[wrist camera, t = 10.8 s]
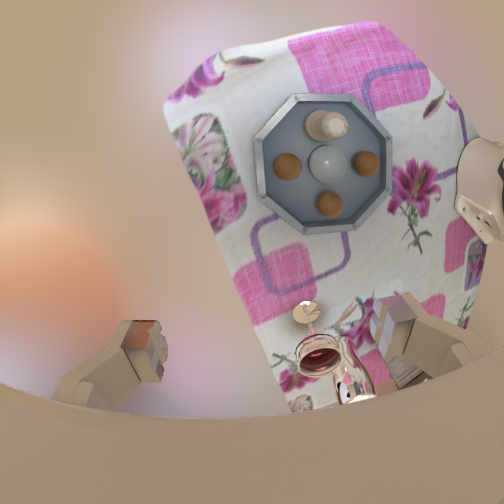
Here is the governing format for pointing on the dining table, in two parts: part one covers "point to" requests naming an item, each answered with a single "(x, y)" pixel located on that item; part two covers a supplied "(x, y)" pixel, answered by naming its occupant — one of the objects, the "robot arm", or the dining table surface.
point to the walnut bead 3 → (366, 163)
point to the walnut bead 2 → (329, 204)
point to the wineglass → (315, 345)
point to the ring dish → (305, 184)
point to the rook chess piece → (325, 125)
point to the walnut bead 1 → (287, 166)
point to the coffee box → (405, 372)
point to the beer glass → (351, 375)
